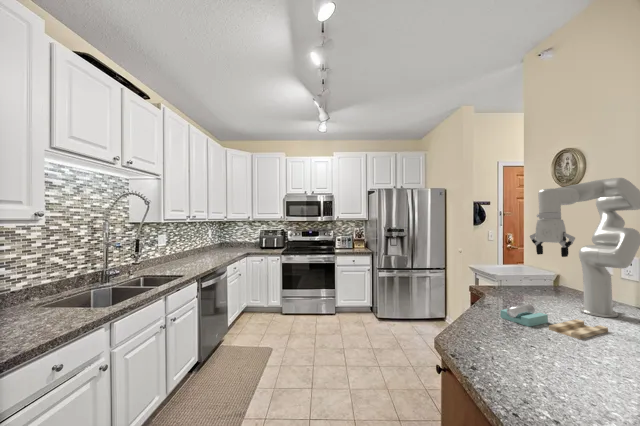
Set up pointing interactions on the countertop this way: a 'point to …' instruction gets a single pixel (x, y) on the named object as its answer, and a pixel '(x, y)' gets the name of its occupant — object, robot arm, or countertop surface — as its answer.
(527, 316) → the cradle
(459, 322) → the countertop surface
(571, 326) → the wooden grooved block
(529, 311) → the axle
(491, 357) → the countertop surface
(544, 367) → the countertop surface
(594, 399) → the countertop surface
